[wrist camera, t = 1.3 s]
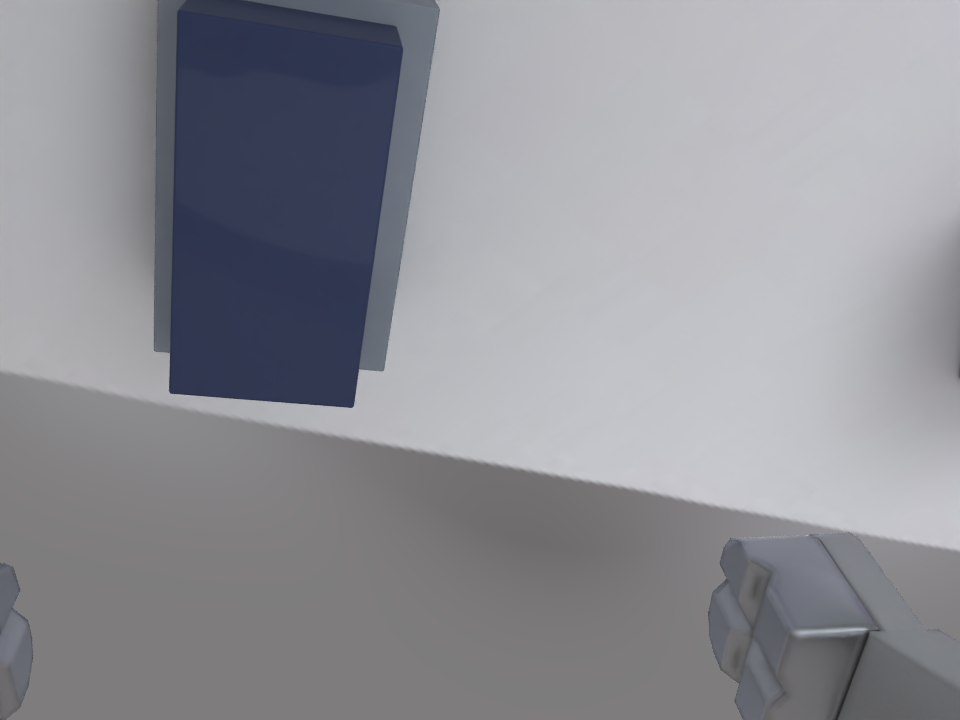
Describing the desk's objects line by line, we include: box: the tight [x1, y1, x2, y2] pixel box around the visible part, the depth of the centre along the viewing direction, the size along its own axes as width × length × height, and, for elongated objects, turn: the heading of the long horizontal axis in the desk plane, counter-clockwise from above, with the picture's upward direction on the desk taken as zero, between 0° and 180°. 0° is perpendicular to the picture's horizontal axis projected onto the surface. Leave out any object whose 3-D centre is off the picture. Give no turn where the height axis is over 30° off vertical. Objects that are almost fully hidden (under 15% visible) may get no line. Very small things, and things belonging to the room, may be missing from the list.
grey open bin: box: [154, 0, 440, 371], centre depth 27 cm, size 11×7×5 cm, turn 169°
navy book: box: [169, 0, 403, 408], centre depth 24 cm, size 10×5×2 cm, turn 169°
